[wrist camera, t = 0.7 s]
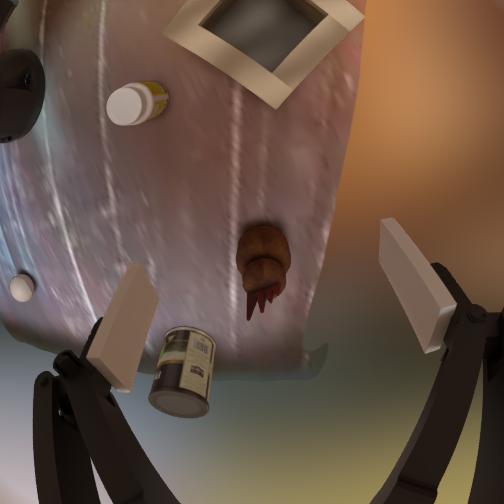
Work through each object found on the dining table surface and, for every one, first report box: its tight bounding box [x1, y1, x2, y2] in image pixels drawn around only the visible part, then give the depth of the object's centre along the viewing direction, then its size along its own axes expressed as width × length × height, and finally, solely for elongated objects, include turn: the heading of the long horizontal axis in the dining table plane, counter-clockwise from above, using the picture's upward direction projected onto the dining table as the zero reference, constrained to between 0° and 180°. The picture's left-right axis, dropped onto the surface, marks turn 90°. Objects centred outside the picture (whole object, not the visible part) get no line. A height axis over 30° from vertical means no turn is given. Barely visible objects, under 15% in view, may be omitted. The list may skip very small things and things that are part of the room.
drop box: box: [161, 0, 365, 109], centre depth 22 cm, size 12×12×11 cm
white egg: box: [10, 271, 34, 302], centre depth 44 cm, size 8×6×6 cm
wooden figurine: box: [236, 225, 291, 321], centre depth 35 cm, size 7×6×15 cm
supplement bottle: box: [106, 81, 169, 126], centre depth 27 cm, size 5×5×8 cm
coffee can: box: [148, 327, 216, 418], centre depth 48 cm, size 10×10×14 cm
